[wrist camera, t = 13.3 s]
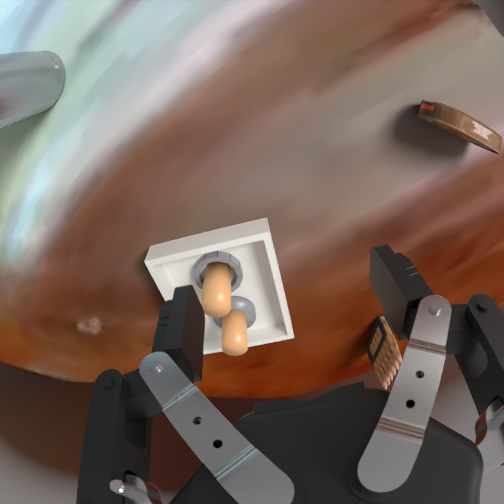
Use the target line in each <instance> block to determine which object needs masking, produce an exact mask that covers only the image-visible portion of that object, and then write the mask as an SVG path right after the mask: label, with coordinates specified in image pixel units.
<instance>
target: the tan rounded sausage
mask: <svg viewBox="0 0 504 504" xmlns="http://www.w3.org/2000/svg"><path fill="white" fill-rule="evenodd" d="M201 305H202V307H203V310H204V314H206V315H207V316H210V317H213V318H220V317H224V316H226V315H227V314H228V313H229V312H230V310H231V268H230V266H229V265H228V264H227V263H224V262H219V261H216V262H212V263H208V264H207V265H206V267H205V274H204V282H203V291H202V300H201Z"/></svg>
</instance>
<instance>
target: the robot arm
mask: <svg viewBox="0 0 504 504" xmlns="http://www.w3.org/2000/svg"><path fill="white" fill-rule="evenodd" d="M64 82H65V71H64V66H63V64H62V61H61V60H60V58H59V57H58V56H57V55H55V54H54V53H52V52H47V51H38V52H20V53H9V54H0V129H1V128H3V127H6V126H8V125H10V124H13V123H15V122H17V121H20V120H22V119H25V118H28V117H30V116H33V115H36V114H38V113H41V112H44V111H46V110H48V109H49V108H51V107H52V106H53V105H54V104H55V103H56V101H57V100H58V99H59V97H60V95H61V93H62V90H63V87H64ZM370 281H371V285H372V287H373V289H374V291H375V293H376V295H377V297H378V299H379V301H380V303H381V305H382V307H383V309H384V311H385V313H386V315H387V317H388V319H389V321H390V323H391V325H392V327H393V329H394V331H395V333H396V335H397V337H398V340H399V341H400V340H403V339H406V338H407V339H408V341H409V342H408V345H407V348H406V351H405V354H404V357H403V360H402V363H401V367H400V369H399V372H398V375H397V377H396V380H395V383H394V385H393V388H392V391H391V393H389V392H387V391H384V390H380V389H372V388H365V387H364V383H363V382H359V383H355V384H351V385H347V386H343V387H339V388H336V389H334V390H332V391H330V392H328V393H325V394H324V395H321V396H319V397H317V398H315V399H313V400H309V401H300V400H298V401H297V400H277V401H270V402H263V403H257V404H253V405H254V411H253V412H251V413H249V414H247V415H245V416H243V417H241V418H240V419H238V421H236V422H235V423H234V424H233V425H232V424H231V423H230V422H229V421H228V420H227V419H226V418H225V417H224V416H223V415H222V414H221V413H220V412H219V411H218V410H217V409H216V408H215V407H214V406H213V405H212V403H211V402H210V401H209V400H208V399H207V398H206V397H205V396H204V395H203V394H202V392H201V391H200V390H199V389H198V388H197V387H196V386H195V385H193V382H195V381H202V366H203V349H204V334H205V314H204V310H203V307H202V305H201V303H200V301H199V298H198V296H197V294H196V291H195V289H194V287H193V285H186V286H180V287H176V288H175V289H174V294H173V299H172V300H167V301H166V302H165V304H164V305H163V307H162V308H161V310H160V315H159V320H158V324H157V328H156V333H155V338H154V343H153V348H152V353H151V354H149V355H148V356H146V357H145V358H144V359H143V361H142V362H141V364H140V368H138V369H136V370H134V371H131V372H129V373H126V374H123V375H122V374H121V373H120V372H119V371H118V370H115V369H109V370H106V371H104V372H102V373H101V374H100V375H99V376H98V377H97V379H96V381H95V384H94V388H93V393H92V398H91V402H90V407H89V413H88V419H87V424H86V429H85V435H84V442H83V448H82V455H81V463H80V471H79V479H78V490H77V502H76V504H163V503H162V500H161V494H160V492H159V490H158V489H157V487H156V486H154V485H153V484H151V483H150V464H151V439H152V421H153V415H155V414H158V413H161V412H164V413H165V414H166V416H167V417H168V419H169V420H170V421H171V423H172V424H173V425H174V426H175V428H176V429H177V431H178V432H179V433H180V435H181V436H182V437H183V438H184V440H185V441H186V442H187V444H188V445H189V446H190V447H191V449H192V450H193V451H194V452H195V454H196V455H197V456H198V457H199V458H200V460H201V461H202V462H203V463H202V464H201V465H200V466H199V468H198V469H197V470H196V471H195V473H194V474H193V475H192V476H191V477H190V479H189V480H188V481H187V483H186V484H185V485H184V486H183V487H182V488H181V490H180V491H179V492H178V493H177V494H176V496H175V497H174V498H173V499H172V500H171V501H170V503H169V504H480V499H479V497H480V486H481V481H482V476H483V474H484V473H486V472H487V471H489V470H491V469H493V468H495V467H496V466H498V465H504V315H503V313H502V312H501V310H500V309H499V307H498V306H497V304H496V303H495V301H494V300H493V299H492V298H491V297H489V296H487V295H484V294H476V295H473V296H472V297H471V298H470V300H469V302H468V304H456V305H453V304H450V303H449V302H448V301H447V300H446V299H445V298H443V297H441V296H438V295H434V294H433V292H432V291H431V289H430V288H429V286H428V285H427V283H426V282H425V280H424V279H423V278H422V276H421V275H420V274H419V273H418V271H417V269H416V268H414V265H413V264H412V262H411V261H410V260H409V258H407V257H406V256H404V255H403V254H401V253H396V254H395V253H394V252H393V251H392V249H391V248H390V246H389V245H388V244H385V245H380V246H376V247H372V248H371V251H370ZM446 354H454V356H455V358H456V360H457V362H458V364H459V367H460V369H461V371H462V374H463V376H464V378H465V381H466V383H467V385H468V388H469V390H470V393H471V395H472V398H473V400H474V403H475V405H476V408H477V411H478V414H479V418H478V419H477V421H476V424H475V434H476V441H475V443H473V442H472V441H471V440H469V439H468V438H466V437H464V436H462V435H461V434H459V433H457V432H456V431H454V430H452V429H450V428H448V427H447V426H445V425H443V424H442V423H440V422H438V421H437V420H435V419H433V418H432V417H430V414H431V411H432V407H433V404H434V400H435V397H436V394H437V390H438V386H439V382H440V378H441V374H442V370H443V366H444V361H445V357H446Z"/></svg>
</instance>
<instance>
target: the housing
mask: <svg viewBox="0 0 504 504" xmlns="http://www.w3.org/2000/svg"><path fill="white" fill-rule="evenodd" d="M216 261H219V262H224V263H227V264H228V265H229V266H230V268H231V310H230V312H229V313H228V314H227V315H226V316H224V317H220V318H213V317H210V316H207V315H206V314H205V334H204V349H203V354H208V353H215V352H221V351H223V352H225V353H226V354H228V355H234V356H236V355H241V354H243V353H245V352H246V351H247V350H248V347H250V346H256V345H261V344H266V343H271V342H276V341H281V340H286V339H291V338H294V334H293V329H292V323H291V319H290V314H289V310H288V305H287V301H286V297H285V292H284V288H283V284H282V279H281V275H280V271H279V266H278V262H277V258H276V254H275V250H274V245H273V241H272V237H271V233H270V229H269V225H268V220H267V218H262V219H258V220H254V221H249V222H245V223H241V224H237V225H233V226H228V227H224V228H220V229H216V230H212V231H208V232H204V233H200V234H196V235H192V236H188V237H184V238H180V239H176V240H172V241H168V242H164V243H160V244H156V245H153V246H150V248H149V251H148V253H147V256H146V258H145V261H144V262H145V264H146V266H147V268H148V270H149V272H150V274H151V275H152V277H153V279H154V281H155V283H156V285H157V287H158V289H159V290H160V292H161V294H162V296H163V298H164V300H165V301H167V300H172V299H173V294H174V289H175V288H176V287H180V286H186V285H193V287H194V289H195V291H196V294H197V296H198V298H199V301H200V303H201V300H202V291H203V282H204V274H205V267H206V265H207V264H208V263H212V262H216Z"/></svg>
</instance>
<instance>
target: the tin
mask: <svg viewBox="0 0 504 504" xmlns="http://www.w3.org/2000/svg"><path fill="white" fill-rule="evenodd" d="M417 116H418V117H419V118H421V119H423V120H425V121H427V122H429V123H431V124H433V125H436V126H438V127H440V128H442V129H444V130H446V131H448V132H450V133H452V134H454V135H456V136H458V137H460V138H462V139H465V140H466V141H469V142H471V143H473V144H475V145H477V146H480V147H482V148H484V149H487V150H489V151H491V152H494V153H496V154H500V148H501V144H502V137H501V136H500V135H499V134H497V133H496V132H495V131H493V130H492V129H490V128H489V127H487V126H486V125H484V124H482V123H481V122H479V121H477V120H476V119H474V118H472V117H471V116H469V115H467V114H465V113H463V112H461V111H459V110H457V109H455V108H453V107H450V106H447V105H445V104H441V103H437V102H429V101H425V100H422V101H421V104H420V108H419V112H418V114H417Z"/></svg>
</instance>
